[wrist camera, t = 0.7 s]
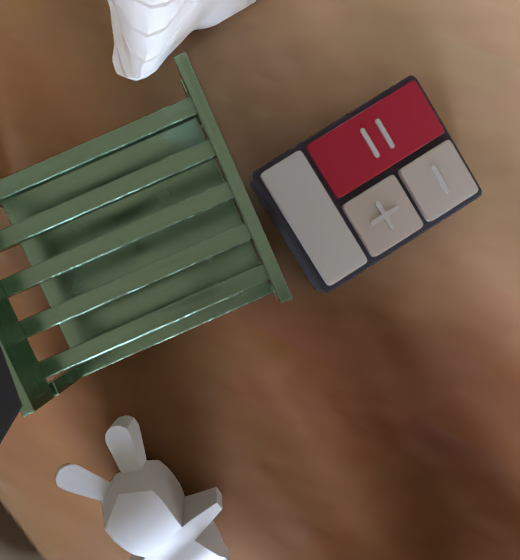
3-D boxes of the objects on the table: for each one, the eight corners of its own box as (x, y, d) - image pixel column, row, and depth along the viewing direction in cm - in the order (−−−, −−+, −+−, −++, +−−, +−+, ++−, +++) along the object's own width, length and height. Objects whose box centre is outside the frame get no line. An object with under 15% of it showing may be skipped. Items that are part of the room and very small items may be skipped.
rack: (280, 286, 39) (294, 297, 28) (84, 372, 39) (20, 417, 28) (204, 110, 38) (187, 50, 27) (2, 198, 38) (-97, 173, 27)
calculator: (490, 192, 35) (328, 295, 35) (461, 200, 40) (316, 293, 39) (418, 67, 35) (250, 170, 34) (396, 90, 39) (248, 181, 38)
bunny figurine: (165, 631, 36) (27, 503, 33) (170, 580, 41) (51, 465, 38) (257, 554, 36) (127, 421, 33) (251, 513, 41) (138, 393, 38)
